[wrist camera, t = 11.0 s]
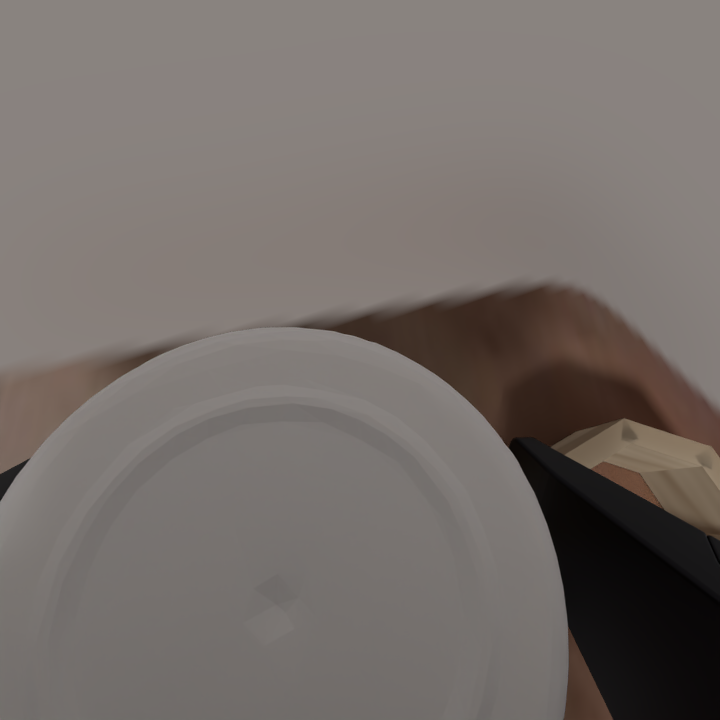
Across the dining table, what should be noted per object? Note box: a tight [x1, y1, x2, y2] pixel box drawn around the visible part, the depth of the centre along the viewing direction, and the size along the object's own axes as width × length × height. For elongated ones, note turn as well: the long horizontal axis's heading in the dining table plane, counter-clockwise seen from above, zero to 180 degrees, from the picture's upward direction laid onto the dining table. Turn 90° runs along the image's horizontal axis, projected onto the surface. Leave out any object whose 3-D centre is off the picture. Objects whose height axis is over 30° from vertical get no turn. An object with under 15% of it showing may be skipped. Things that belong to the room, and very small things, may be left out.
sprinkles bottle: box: [0, 327, 569, 720], centre depth 9 cm, size 5×5×13 cm
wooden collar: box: [551, 418, 720, 540], centre depth 16 cm, size 6×8×3 cm
